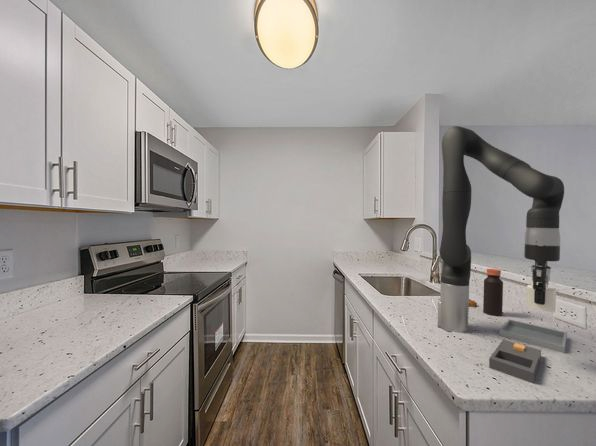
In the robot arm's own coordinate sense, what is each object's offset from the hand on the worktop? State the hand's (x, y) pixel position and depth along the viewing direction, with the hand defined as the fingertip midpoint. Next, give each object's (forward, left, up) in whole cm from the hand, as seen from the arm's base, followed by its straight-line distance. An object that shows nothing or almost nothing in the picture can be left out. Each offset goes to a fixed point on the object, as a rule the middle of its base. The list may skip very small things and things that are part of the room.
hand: (540, 301), depth 75 cm
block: (0, 0, -2) cm, 2 cm away
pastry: (-31, +44, -18) cm, 57 cm away
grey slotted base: (-4, -7, -17) cm, 19 cm away
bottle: (-18, +37, -17) cm, 45 cm away
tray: (-3, +19, -17) cm, 26 cm away
